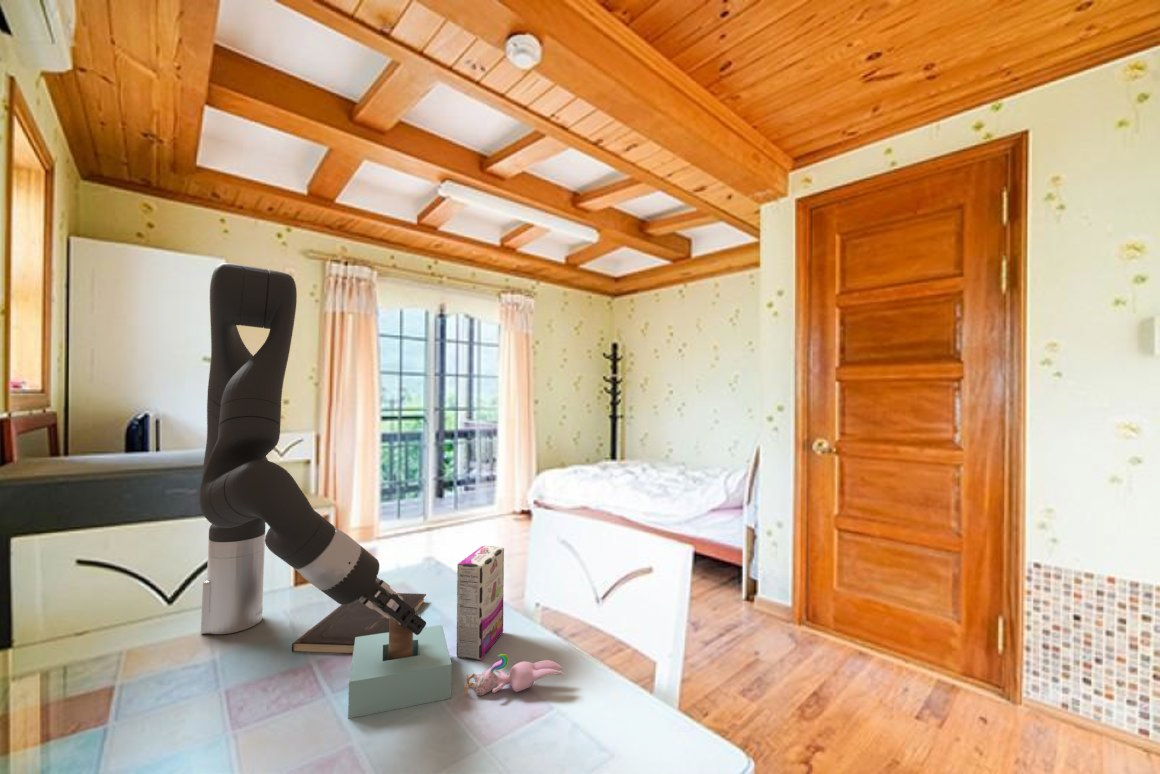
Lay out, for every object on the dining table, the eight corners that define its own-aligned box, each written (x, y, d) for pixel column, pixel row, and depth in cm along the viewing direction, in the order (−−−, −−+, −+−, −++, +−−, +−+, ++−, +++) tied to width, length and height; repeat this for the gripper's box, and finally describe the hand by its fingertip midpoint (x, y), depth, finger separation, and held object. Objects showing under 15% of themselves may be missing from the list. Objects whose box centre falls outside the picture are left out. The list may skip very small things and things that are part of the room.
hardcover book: (425, 604, 109) (426, 593, 109) (380, 657, 86) (381, 644, 86) (354, 602, 110) (355, 591, 110) (291, 654, 87) (291, 641, 87)
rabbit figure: (464, 713, 72) (564, 692, 74) (458, 672, 73) (559, 653, 74) (470, 688, 79) (562, 670, 80) (465, 651, 79) (557, 633, 80)
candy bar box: (479, 629, 96) (481, 544, 97) (503, 632, 95) (505, 546, 96) (453, 658, 85) (456, 562, 86) (480, 661, 84) (483, 564, 85)
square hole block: (347, 718, 69) (349, 681, 69) (354, 667, 82) (355, 637, 82) (450, 698, 74) (451, 664, 74) (441, 653, 87) (442, 624, 87)
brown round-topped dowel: (387, 691, 75) (389, 617, 76) (387, 678, 79) (389, 608, 79) (412, 686, 77) (414, 614, 77) (411, 674, 80) (413, 606, 80)
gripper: (377, 553, 68) (451, 615, 76) (338, 533, 78) (407, 590, 86) (336, 602, 64) (419, 662, 72) (300, 575, 74) (376, 630, 82)
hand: (412, 622), depth 79 cm, fingers open, 5 cm apart
